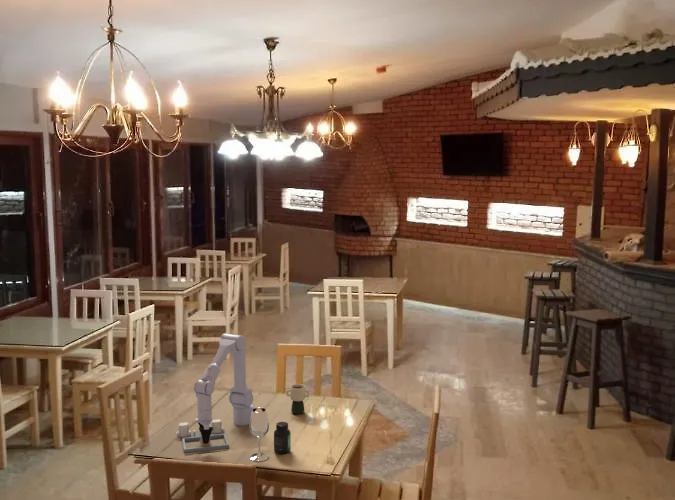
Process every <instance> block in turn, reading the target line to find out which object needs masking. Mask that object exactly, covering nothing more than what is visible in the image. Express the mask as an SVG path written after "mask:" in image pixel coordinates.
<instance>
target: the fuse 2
mask: <svg viewBox="0 0 675 500" xmlns="http://www.w3.org/2000/svg"><path fill="white" fill-rule="evenodd" d="M222 424H223V423H222V419H221V418H218V419H212V421H211V427H213V430H212V434H215V433H222V427H223V426H222Z"/></svg>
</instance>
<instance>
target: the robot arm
mask: <svg viewBox="0 0 675 500" xmlns="http://www.w3.org/2000/svg"><path fill="white" fill-rule="evenodd" d="M218 345H219V348H218V350H217V352H216V354H215V356H214V358H213V360H212V363H210V364H208V365H207V367H206V368H205V370H204V372H203V375H202V376H201V378H200V379H198V380H196V381H195V384H194V387H193V391H194V393H195V397H196V398H197V400H196V402H197V418H194V421H195V422H196V423H197V424H198V426H199V427H198V431H200V432H201V435H202V439H203V443H204V444H208V443H209V440H210V441H211V439H210V435H211V432H212V430H213V427H212V426H210V425H211V424H212V420H213V417H212V415H213V414H212V413H213V412H212V410H213V409H212V406H213V405H212V394H213V393H214V391H215V385H216V381H217V379H218V376H219V375H220V373H221V366H222V365H223V363H224V361H225V360H226V358H227V356H228V355H229V354H232V353H233V354H232V356H233V359H232V360H233V386H231V388H230V389H229V395H228V400H229V403H230V404H231V406H232V407H233V408H232V409H233V411H232V412H233V413H232V416H233V424H234V425H235V426H247V425H250V418H251V413H252V409H254V408H255V406H254V404H253V403H254V395H253V389H252V388H251V387H249V385H248V384H247V370H246V369H247V368H246V367H247V366H246V363H247V362H246V352H247V338H246V337H245V336H244V335H241V334H240V335H239V334H234V333H233V334H231V333H226V332H225V333H222V334H221V336H220V338H219V341H218Z"/></svg>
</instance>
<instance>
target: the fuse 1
mask: <svg viewBox="0 0 675 500" xmlns="http://www.w3.org/2000/svg"><path fill="white" fill-rule="evenodd" d="M189 427H190V425H189V421H188V422H178V433H179V437H186V436H189V430H190V429H189Z"/></svg>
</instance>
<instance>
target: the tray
mask: <svg viewBox="0 0 675 500" xmlns="http://www.w3.org/2000/svg"><path fill="white" fill-rule="evenodd" d="M220 438H221V439H223V440H224V444H223V443H222V444H217V445H215V444H214V445H209V446H198V447H197V446H196V447H186V442H195V441H200V436H197V437H187V438H181V439H182V441H181V442H182V448H183V454H185V453H187V454H186V456H193V455H194V452H199V453H195V455H200V454H201V455H202V454H203V452H204V454H209V453H210V454H211V453H212V450H213V453H218V452H219V453H220V452H221V449H225V450H222V452H226V451H227V452H228V451H229V448H230V445H229V441H228V438H227V434H216V435H210V440H212V439H220ZM214 450H216V451H214ZM217 450H218V451H217ZM205 451H206V452H205ZM207 451H208V452H207Z"/></svg>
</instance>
